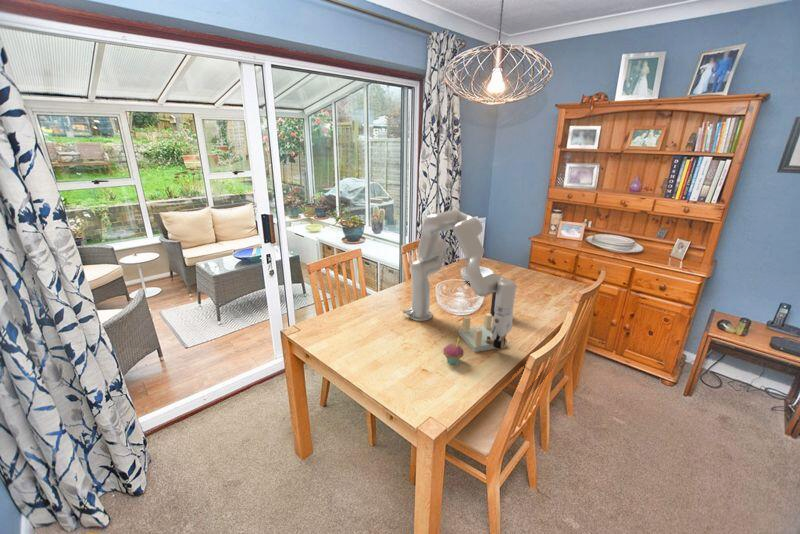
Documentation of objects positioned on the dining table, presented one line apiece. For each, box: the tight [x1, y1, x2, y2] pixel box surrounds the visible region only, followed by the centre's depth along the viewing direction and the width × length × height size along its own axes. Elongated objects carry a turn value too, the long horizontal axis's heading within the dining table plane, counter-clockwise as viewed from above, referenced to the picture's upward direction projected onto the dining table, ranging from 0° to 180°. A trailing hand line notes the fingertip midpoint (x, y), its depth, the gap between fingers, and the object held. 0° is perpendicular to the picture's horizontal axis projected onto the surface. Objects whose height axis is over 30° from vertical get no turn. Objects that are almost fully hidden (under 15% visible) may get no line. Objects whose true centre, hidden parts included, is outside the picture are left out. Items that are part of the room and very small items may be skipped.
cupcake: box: [442, 335, 465, 365], centre depth 147 cm, size 9×8×12 cm
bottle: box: [489, 292, 496, 318], centre depth 184 cm, size 7×7×20 cm
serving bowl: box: [460, 265, 494, 282], centre depth 231 cm, size 21×21×7 cm
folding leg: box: [487, 335, 506, 349], centre depth 154 cm, size 8×2×7 cm, turn 38°
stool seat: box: [458, 312, 508, 353], centre depth 163 cm, size 16×16×10 cm
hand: (498, 345), depth 153 cm, fingers open, 2 cm apart
